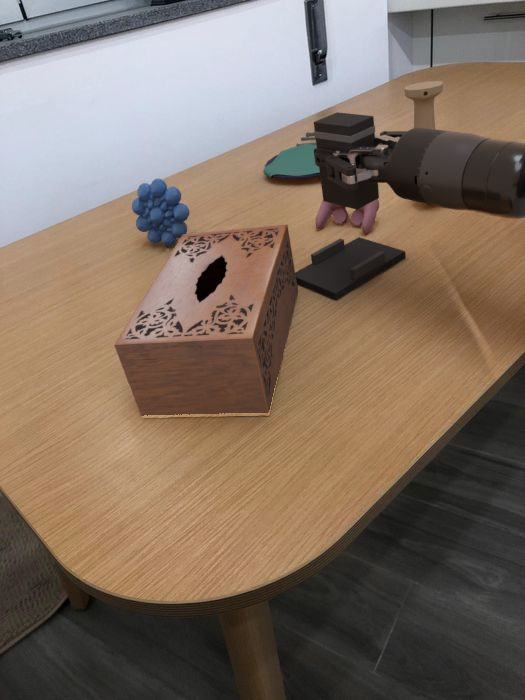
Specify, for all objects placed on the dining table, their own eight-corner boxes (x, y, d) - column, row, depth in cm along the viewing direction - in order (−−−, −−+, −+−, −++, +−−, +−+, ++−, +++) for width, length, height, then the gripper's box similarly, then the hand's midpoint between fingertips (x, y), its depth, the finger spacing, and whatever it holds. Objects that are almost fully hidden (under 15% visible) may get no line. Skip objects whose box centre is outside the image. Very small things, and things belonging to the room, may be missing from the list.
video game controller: (378, 235, 97) (384, 190, 95) (367, 234, 93) (372, 188, 91) (325, 230, 102) (329, 187, 100) (311, 229, 98) (316, 184, 97)
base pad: (359, 243, 92) (358, 227, 90) (405, 258, 86) (405, 241, 84) (291, 282, 86) (288, 265, 84) (336, 300, 79) (333, 283, 78)
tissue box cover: (199, 297, 87) (182, 234, 81) (298, 291, 83) (287, 224, 78) (142, 418, 66) (114, 345, 61) (269, 416, 63) (252, 338, 57)
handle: (406, 168, 115) (402, 85, 106) (440, 163, 114) (440, 79, 105) (409, 177, 111) (406, 91, 102) (445, 172, 110) (445, 85, 101)
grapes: (210, 236, 104) (194, 169, 97) (189, 254, 99) (171, 185, 93) (157, 233, 109) (138, 169, 103) (135, 250, 105) (114, 184, 98)
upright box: (344, 190, 79) (337, 111, 73) (379, 198, 75) (374, 115, 69) (322, 201, 77) (312, 121, 72) (357, 210, 73) (349, 126, 67)
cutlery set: (251, 187, 121) (248, 176, 119) (300, 138, 142) (298, 129, 141) (346, 185, 113) (345, 173, 111) (383, 134, 134) (382, 123, 133)
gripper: (486, 112, 64) (366, 102, 76) (397, 156, 57) (282, 137, 69) (484, 180, 68) (370, 160, 80) (401, 228, 62) (291, 199, 74)
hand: (330, 150), depth 75 cm, fingers closed on upright box, 4 cm apart
